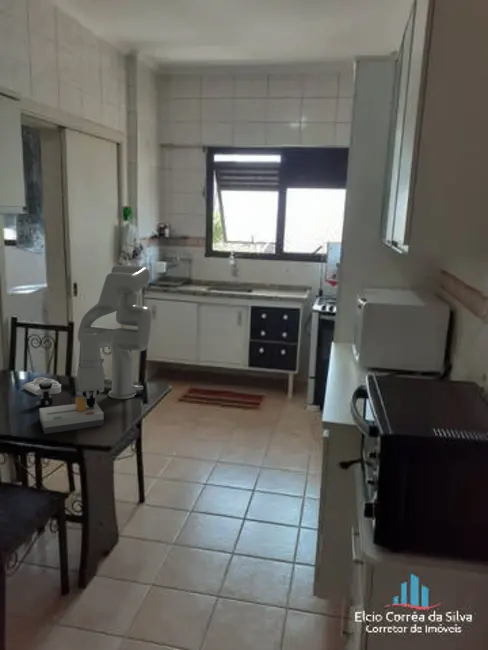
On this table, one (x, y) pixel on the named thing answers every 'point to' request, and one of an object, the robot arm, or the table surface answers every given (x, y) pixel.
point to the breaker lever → (80, 404)
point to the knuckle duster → (35, 386)
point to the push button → (45, 393)
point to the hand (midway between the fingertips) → (90, 406)
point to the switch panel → (70, 418)
